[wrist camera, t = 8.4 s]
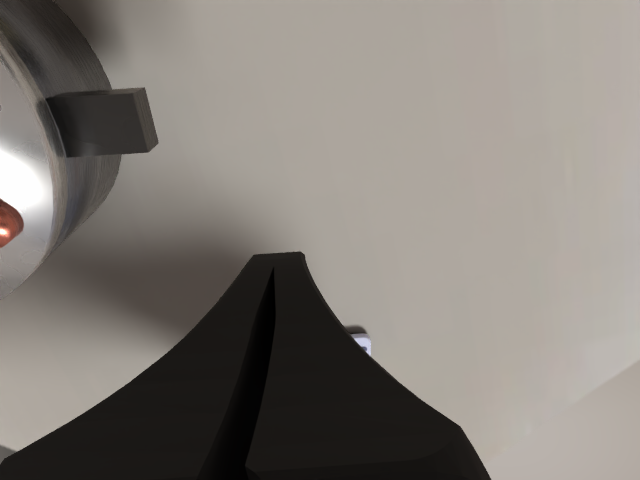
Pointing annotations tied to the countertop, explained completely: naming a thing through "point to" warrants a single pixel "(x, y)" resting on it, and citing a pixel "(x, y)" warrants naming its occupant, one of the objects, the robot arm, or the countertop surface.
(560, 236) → the countertop surface
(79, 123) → the cooker pot
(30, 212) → the cooker lid
